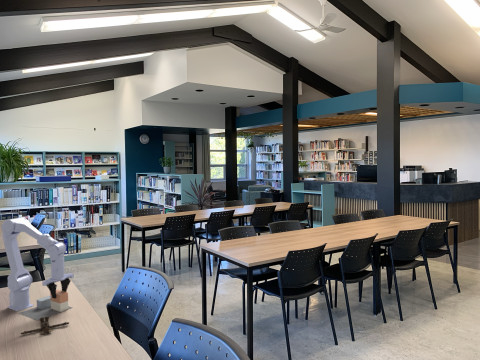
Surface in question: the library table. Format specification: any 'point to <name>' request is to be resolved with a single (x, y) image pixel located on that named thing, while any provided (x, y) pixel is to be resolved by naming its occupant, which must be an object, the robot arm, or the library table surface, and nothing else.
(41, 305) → the slate brick
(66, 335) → the library table surface
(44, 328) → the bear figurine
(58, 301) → the terracotta brick
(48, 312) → the charcoal mat
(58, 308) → the cream brick
